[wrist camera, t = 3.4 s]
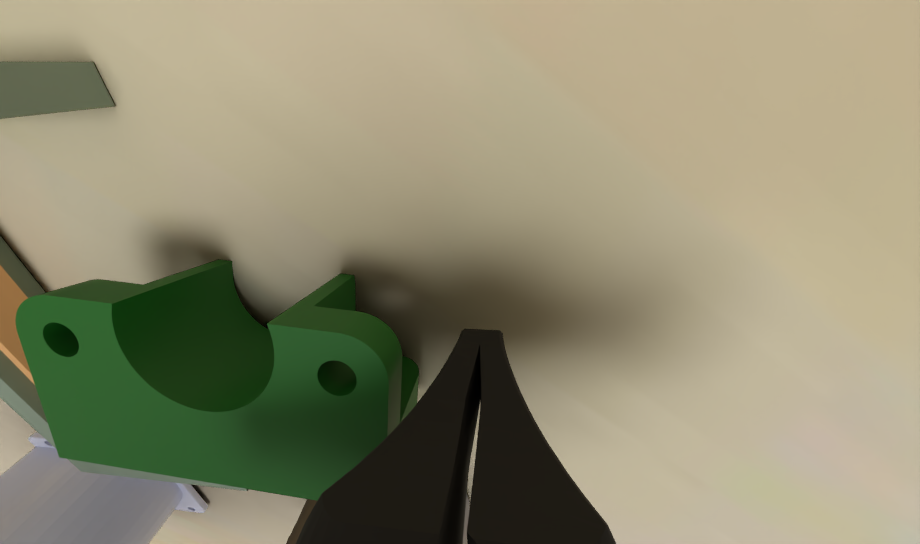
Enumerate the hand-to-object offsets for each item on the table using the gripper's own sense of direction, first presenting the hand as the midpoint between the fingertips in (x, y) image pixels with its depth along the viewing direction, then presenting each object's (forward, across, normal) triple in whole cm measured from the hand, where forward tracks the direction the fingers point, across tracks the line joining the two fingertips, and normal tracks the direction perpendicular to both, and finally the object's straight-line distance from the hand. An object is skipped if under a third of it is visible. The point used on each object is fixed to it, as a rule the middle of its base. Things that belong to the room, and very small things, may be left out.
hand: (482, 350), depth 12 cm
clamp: (+2, +8, 0) cm, 8 cm away
